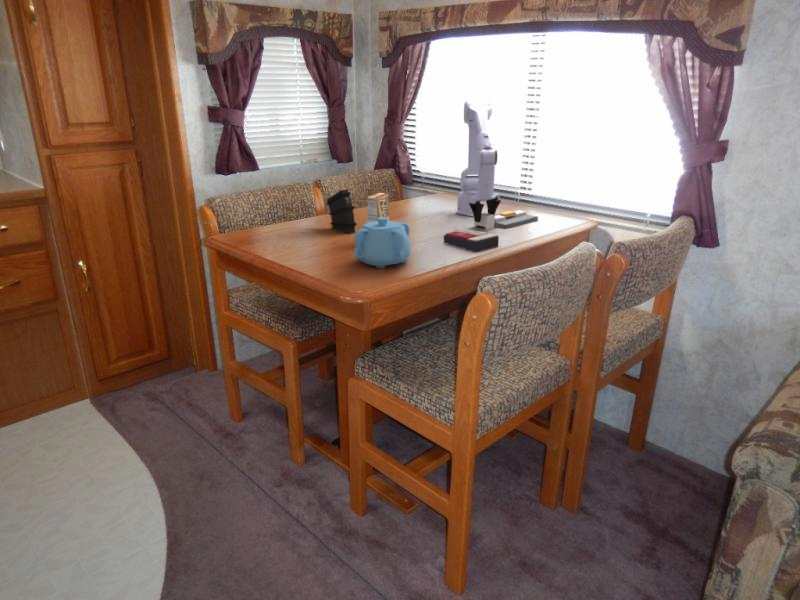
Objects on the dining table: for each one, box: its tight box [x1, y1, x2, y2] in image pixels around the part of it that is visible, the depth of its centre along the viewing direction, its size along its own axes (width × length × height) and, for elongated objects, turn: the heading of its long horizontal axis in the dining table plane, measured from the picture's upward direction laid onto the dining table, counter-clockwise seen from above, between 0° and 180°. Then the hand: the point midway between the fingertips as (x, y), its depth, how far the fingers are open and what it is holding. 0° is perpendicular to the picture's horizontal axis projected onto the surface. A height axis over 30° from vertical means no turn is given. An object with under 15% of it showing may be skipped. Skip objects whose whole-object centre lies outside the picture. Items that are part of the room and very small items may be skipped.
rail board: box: [494, 210, 539, 230], centre depth 219 cm, size 14×20×3 cm
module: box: [473, 211, 495, 231], centre depth 210 cm, size 6×4×5 cm, turn 42°
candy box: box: [366, 192, 390, 222], centre depth 192 cm, size 9×4×15 cm, turn 156°
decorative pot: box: [353, 217, 412, 269], centre depth 168 cm, size 16×16×14 cm
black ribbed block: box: [326, 188, 357, 235], centre depth 206 cm, size 4×13×15 cm, turn 40°
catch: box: [500, 210, 516, 217], centre depth 218 cm, size 3×6×1 cm, turn 132°
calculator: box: [443, 228, 499, 253], centre depth 188 cm, size 11×4×15 cm
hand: (484, 220), depth 210 cm, fingers open, 7 cm apart
